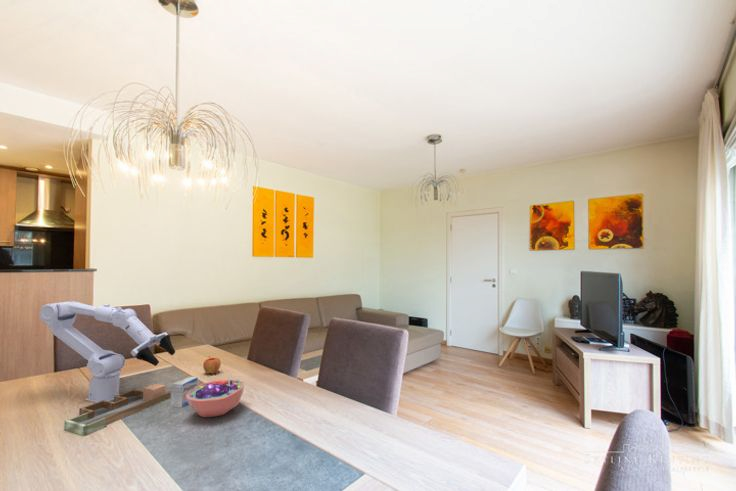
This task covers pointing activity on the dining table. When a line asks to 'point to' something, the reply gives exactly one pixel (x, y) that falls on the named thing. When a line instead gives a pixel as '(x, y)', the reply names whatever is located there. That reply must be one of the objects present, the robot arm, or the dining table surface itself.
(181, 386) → the medicine box
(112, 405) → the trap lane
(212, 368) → the apple
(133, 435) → the dining table surface
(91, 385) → the robot arm
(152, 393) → the block
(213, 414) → the cell model
